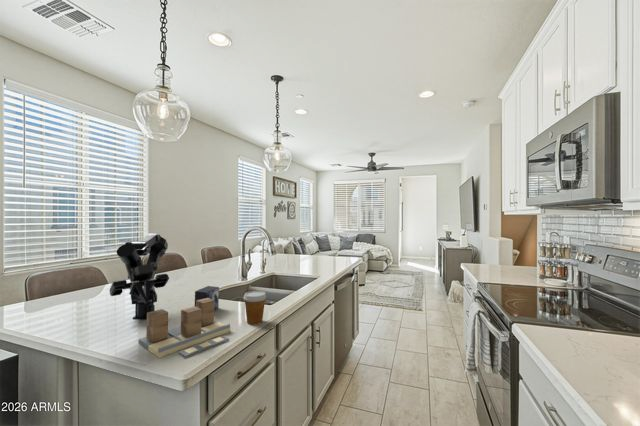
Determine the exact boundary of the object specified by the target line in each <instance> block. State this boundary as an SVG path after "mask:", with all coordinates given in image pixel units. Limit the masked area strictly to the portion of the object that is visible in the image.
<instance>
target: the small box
mask: <svg viewBox="0 0 640 426" xmlns="http://www.w3.org/2000/svg"><path fill="white" fill-rule="evenodd" d="M219 292H220V287H219V286H212V285H211V286H210V285H207V286H205V287H201V288H200V289H197V290H194V306H195V307H196V301H197V300H201V299H205V298H210V299H213V300H215V302H214V311H215V310H217V309H219V305H220V302H219V299H220V298H219V297H220V293H219Z"/></svg>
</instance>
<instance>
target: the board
mask: <svg viewBox="0 0 640 426" xmlns="http://www.w3.org/2000/svg"><path fill="white" fill-rule="evenodd" d="M229 332H231V324H230V323H227V324H223V323H221V322H219V321H216V320H214V323H211V324H208V325H205V326H201V334H198V335H195V336H192V337H189V338H186V337H184V336H182V335H181V325H179V326H176V327H173V328H170V329H168V338H165V339H162V340H159V341H156V342H153V343H152V342H151V341H149V340H148V339H146V336H143V337H141V338H139V339H138V344H139V345H141V347H143V348H145V349H146V350H148V351H149V352H151V354H153V355H155V356H156V357H157V358H162V357H165V356H167V355H170V354H173V353H176V352H179V351H182V350H185V349H187V348H190V347H193V346H195V345H198V344H201V343H203V342H206V341H209V340H212V339H214V338H217V337H220V336H222V335H224V334H226V333H229Z"/></svg>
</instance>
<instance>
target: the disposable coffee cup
mask: <svg viewBox="0 0 640 426" xmlns="http://www.w3.org/2000/svg"><path fill="white" fill-rule="evenodd" d="M242 297H243V300H244V305H245V307H244V308H245V316H246V323H247V324H248V325H250V324H251V325H252V326H254V325H253V324H256V325H260V324H262V323H263V319H264V311H265V303H266V299H267V295H266V292H265V291H260V290H253V291H252V290H251V291H247V292H245V293H244V295H243V296H242ZM261 322H262V323H261ZM259 323H260V324H259Z"/></svg>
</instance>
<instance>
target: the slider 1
mask: <svg viewBox="0 0 640 426" xmlns="http://www.w3.org/2000/svg"><path fill="white" fill-rule="evenodd" d="M168 330H169V312H168V311H167V310H165V309H164V308H160V309H155V311H152V312H148V313H147V319H146V336H145V337H146V339H148V340H149V341H151V342H152V343H153V342H156V341H159V340H162V339H165V338H168Z"/></svg>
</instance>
